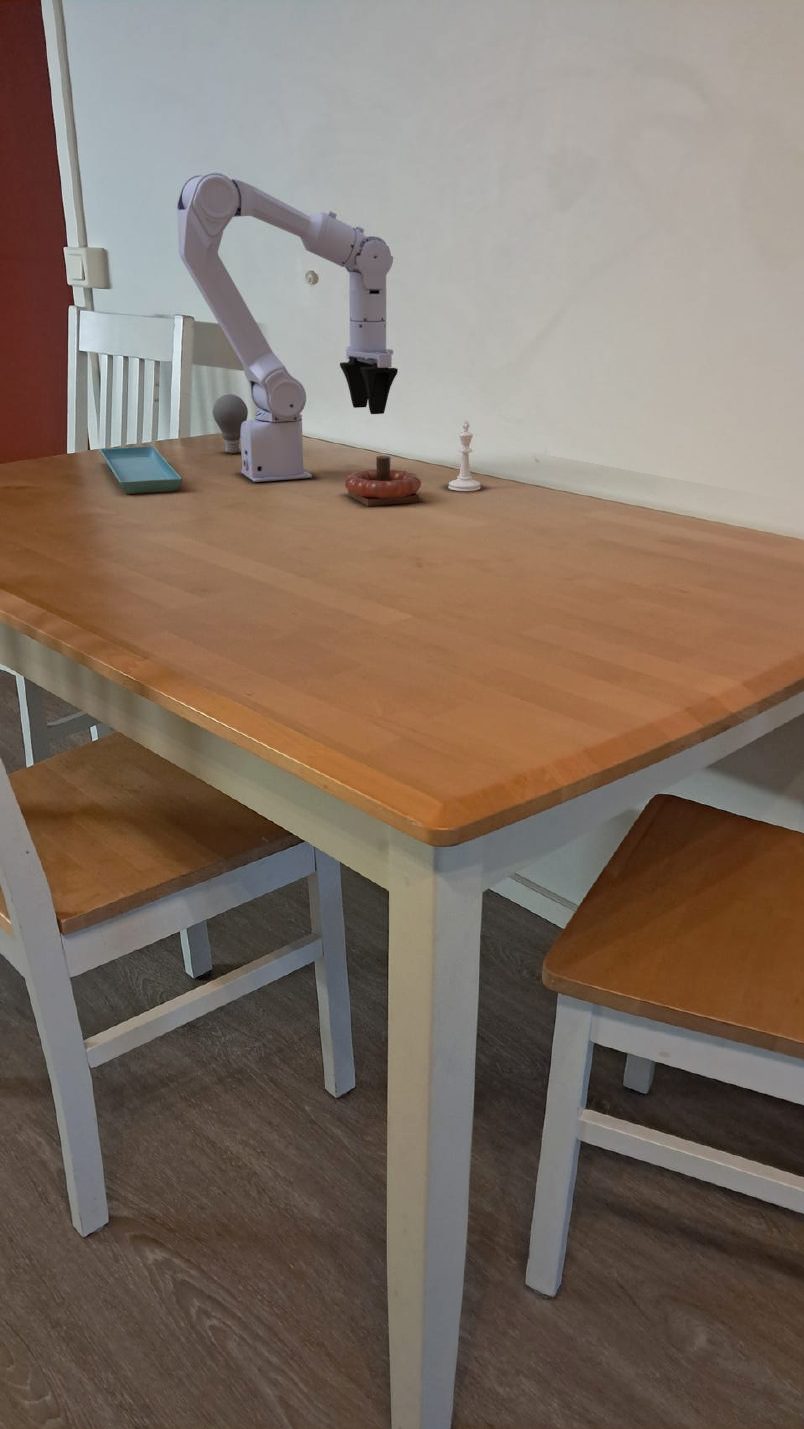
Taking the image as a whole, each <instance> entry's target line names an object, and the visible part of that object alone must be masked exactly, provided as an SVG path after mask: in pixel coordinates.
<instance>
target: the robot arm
mask: <svg viewBox="0 0 804 1429" xmlns="http://www.w3.org/2000/svg"><path fill="white" fill-rule="evenodd" d="M175 210H176V215H177V230H178V231H177V232H178V253H179V254H178V255H179V257H180V260H181V261H182V263H183V265H184V267H185V268H186V270H187V271H188V274H189V275H190V277H191V278H192V280H193V282H194V284H195V285H196V287H197V289H198V291H199V292H200V294H201V296H202V297H203V299H204V301H205V302H206V305H207V306H208V307H209V310H210V311H211V313H212V314H213V317H214V318H215V320H216V322H217V323H218V325H219V327H220V328H221V330H222V332H223V334H224V335H225V337H226V339H227V340H228V342H229V344H230V345H231V348H232V349H233V350H234V352H235V354H236V356H237V357H238V359H239V361H240V362H241V364H242V366H243V373H244V376H245V378H246V380H247V382H248V384H249V388H250V397H251V400H252V402H253V403H254V405H255V406H256V407H257V410H256V412H255V415H254V416H255V419H251V420H246V421H244V422H243V423H242V425H241V437H240V452H241V471H240V473H241V474H242V475H244V476H245V477H246V478H248V479H250V480H251V481H252V482H254V483H259V482H273V481H286V480H298V479H299V480H300V479H312V478H313V474H311V473H310V472H308V471H306V470H305V469H304V444H303V443H304V442H303V440H304V439H303V438H304V437H303V415H302V412H303V410H304V409H305V406H306V403H307V392H306V389H305V387H304V385H303V384H302V383H301V382H300V381H299V380H298V379H297V378H295V377H294V376H292V375H291V374H290V372H289V371H288V370H287V368H286V366H285V365H284V363H283V362H282V361H281V360H280V359H279V357H278V356H277V355H276V353H274V352H273V350H272V348H271V346H270V344H269V343H268V341H267V338H266V337H265V336H264V333H263V332H262V330H261V328H260V326H259V325H258V323H257V321H256V319H255V317H254V316H253V313H252V312H251V310H250V309H249V307H248V305H247V303H246V301H245V300H244V298H243V296H242V294H241V293H240V291H239V289H238V287H237V286H236V283H235V282H234V280H233V279H232V276H231V275H230V273H229V270H227V268H226V266H225V264H224V262H223V260H222V259H221V257H220V255H219V249H220V245H221V242H222V238H223V235H224V231H225V230H226V228H227V227H228V225H229V224H230V222H231V221H232V220H233V218H235V217H237V218H238V217H252V218H255V219H257V220H259V221H262V222H264V223H266V224H268V225H270V226H273V227H275V228H277V229H280V230H283V231H285V232H287V233H290V234H292V235H294V236H296V237H299V238H300V240H301V242H302V245H303V248H304V249H305V250H306V251H307V252H310V253H311V254H313V255H316V256H317V257H320V258H322V259H325V260H326V261H329V262H331V263H332V264H335V265H337V266H339V267H342V268H344V269H345V270H346V271H347V272H348V274H349V290H348V292H349V294H348V295H349V299H348V300H349V346H346V347H345V359H346V360H347V361H344V362H343V361H341V362H340V363H339V367H340V369H341V370H342V373H343V375H344V377H345V379H346V384H347V386H348V390H349V391H348V392H349V394H350V398H351V400H350V401H351V403H352V407H353V408H354V409H360V408H367V405H368V410H369V414H370V415H384V414H385V411H386V407H387V403H388V398H389V394H390V390H391V387H392V385H393V383H394V380H395V378H396V376H397V375H398V371H399V370H398V368H395V367H392V363H393V362H392V355H394V350H393V349H390V348H387V275H388V273H389V272H390V270H391V268H392V267H393V263H394V256H393V255H391V254H392V253H391V250H390V247H389V246H388V245H387V242H386V241H385V240H384V239H383V238H382V237H381V238H380V237H378V236H375V235H373V236H372V235H370V236H369V235H367V236H365V233H364V232H365V229H364V228H363V227H362V226H355V227H354V226H351V225H350V224H347V223H345V222H344V221H342V220H339V219H337V213H335V212H333V211H331V210H326V211H325V212H323V211H316V212H314V213H313V214H311V215H308V214H307V213H305V212H302V211H301V210H299V209H297V208H295V207H293V206H291V205H289V204H288V203H286V202H284V201H283V200H280V199H279V198H277V197H274V196H273V195H271V194H269V193H267V192H265V191H264V190H261V189H260V188H258V187H256V186H254V185H252V184H250V183H248V182H245V181H243V180H239V179H236V178H230V177H228V176H227V175H225V174H223V173H221V172H215V171H213V172H207V173H206V174H204V175H202V174H201V175H200V174H199V175H194V176H192V177H189V178H188V179H187V180H186V181H185V182H184V183H183V184H182V186H181V189H180V192H179V195H178V198H177V202H176V205H175Z"/></svg>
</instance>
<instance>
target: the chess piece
mask: <svg viewBox="0 0 804 1429" xmlns="http://www.w3.org/2000/svg"><path fill="white" fill-rule="evenodd" d="M469 428H470V423H469V420H467V419H465V420H464V425H463V427H462V429H463V430H464V431H463V432H460V433H459V434H458V436H459V439H460V443H461V448H460V447H459V449H458V453H461V462H460V468H459V474H458V475H457V476H456V478H457V479H453V480H451V481H449V482H448V486H447V487H448V489H449V490H451V491H457V492H474V491H479V490H480V489H481V488H482V487H481V483H480V481H478V480H475V479H473V476H472V475H471V468H470V456H469V453H473V449H472V448H470V445H471V442H472V439H473V436H474V435H473V433H472V432H469Z"/></svg>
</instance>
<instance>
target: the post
mask: <svg viewBox="0 0 804 1429" xmlns="http://www.w3.org/2000/svg"><path fill="white" fill-rule="evenodd" d="M375 458H376V462H375V464H376V467H375V469H376V481H390V469H391V456H390V455H378V456H376V457H375ZM347 495H348V496H349V497H351V498H352V499H354V500H356V501H357V502H359V503H360V504H363V505H364V506H366V507H377V506H389V505H390V506H391V505H401V504H410V503H411V504H413V503H420V494H418V493H417V492H416V493H415V494H412V495H409V496H405V497H398V498H368V497H363V496H358V495H355V494H353V493H351V492H350V491H348V490H347Z"/></svg>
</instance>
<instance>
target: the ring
mask: <svg viewBox="0 0 804 1429" xmlns="http://www.w3.org/2000/svg"><path fill="white" fill-rule="evenodd" d="M421 486H422V479H421V477H420V476H418V475H417V474H415V473H413V472H411V471H406V470H401V469H391V468H390V481H376V468H375V469H364V470H359V471H355V472H352V473H351V474H349V476H347V478H346V479H345V481H344V487H345V489H346V490H347V492H348V491H350V492H351V493H353V494H355V495H358V496H363V497H368V498H398V497H405V496H409V495H412V494H415V493H416V494H417V492H418V491H419V490H420V488H421Z"/></svg>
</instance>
